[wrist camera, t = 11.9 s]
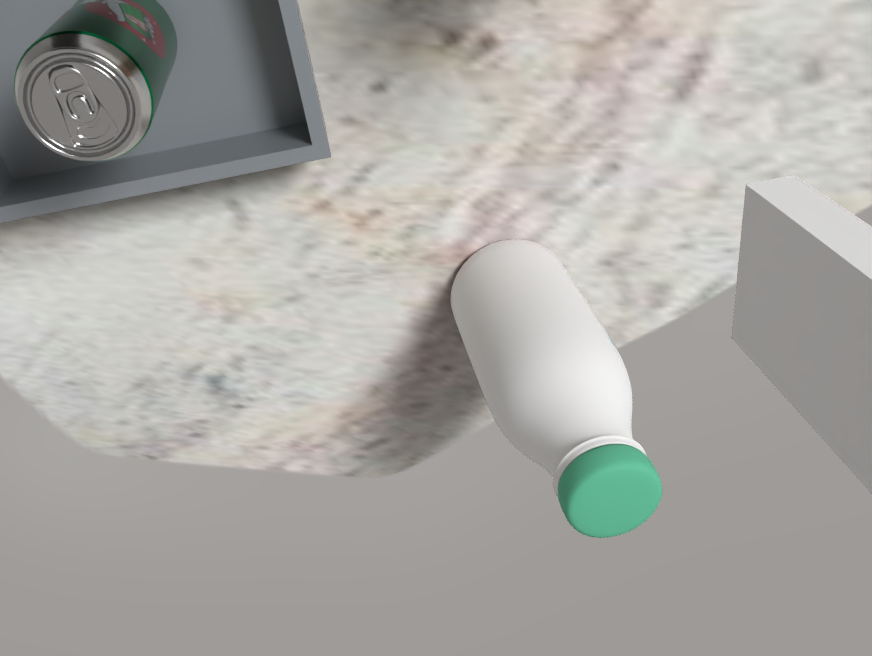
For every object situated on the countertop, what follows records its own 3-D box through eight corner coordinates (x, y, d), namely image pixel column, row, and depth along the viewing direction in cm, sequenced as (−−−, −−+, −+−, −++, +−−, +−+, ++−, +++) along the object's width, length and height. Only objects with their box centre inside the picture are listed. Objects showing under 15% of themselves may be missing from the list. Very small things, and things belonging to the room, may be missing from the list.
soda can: (102, 100, 42) (51, 188, 32) (50, 0, 39) (-23, 63, 29) (195, 69, 42) (173, 147, 32) (150, -33, 39) (111, 18, 29)
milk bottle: (425, 307, 53) (498, 534, 36) (496, 213, 50) (611, 411, 33) (515, 355, 56) (620, 584, 39) (586, 269, 53) (732, 475, 37)
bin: (-122, -84, 37) (-165, -73, 33) (263, -150, 38) (263, -146, 34) (7, 192, 44) (-17, 226, 41) (325, 129, 45) (331, 157, 42)
